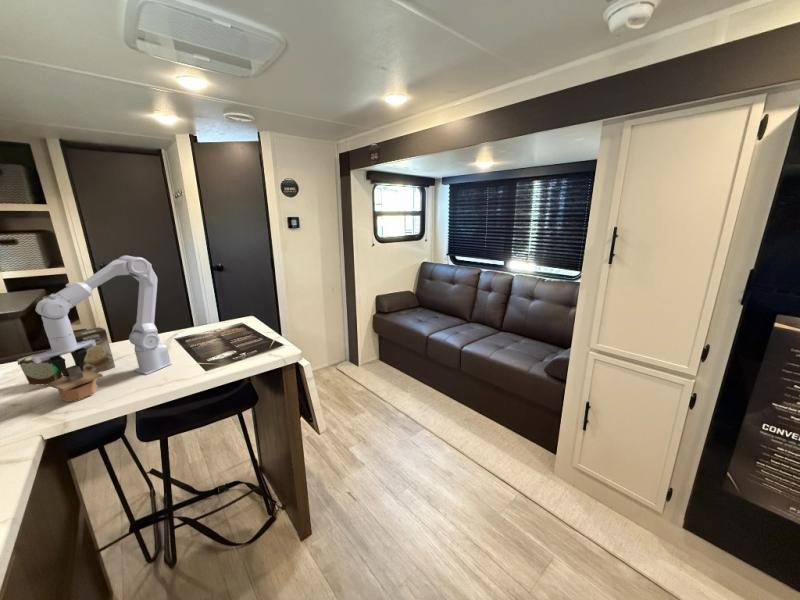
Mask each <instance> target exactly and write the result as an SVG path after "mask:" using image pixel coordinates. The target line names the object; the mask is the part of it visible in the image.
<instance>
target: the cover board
mask: <svg viewBox="0 0 800 600" xmlns="http://www.w3.org/2000/svg"><path fill="white" fill-rule="evenodd" d="M66 368H67V371H68V373H69V376H68V377H65V376H63V377H62V378H61V379H58V380H56V381H53V382H50V383H47V384H48V385H47V386H49V387H51V388H53V389H56V390H58V389H59V390H61V391H66V390H68V389H71V388H74V387H76V386H79V385H81V384H84V383H87V382H89V381H92V380H94V379H95V380H97V379H99V378H102V377H103V374H102V373H101V372H98V373H96V372H93V371H90V370H87V369H86V370H84V371H81V368H80V366H76V365H75V364H73V365H71V366H69V367H66Z"/></svg>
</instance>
